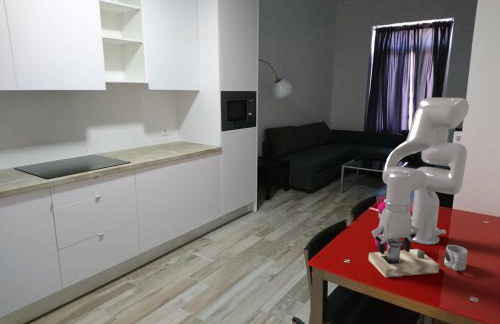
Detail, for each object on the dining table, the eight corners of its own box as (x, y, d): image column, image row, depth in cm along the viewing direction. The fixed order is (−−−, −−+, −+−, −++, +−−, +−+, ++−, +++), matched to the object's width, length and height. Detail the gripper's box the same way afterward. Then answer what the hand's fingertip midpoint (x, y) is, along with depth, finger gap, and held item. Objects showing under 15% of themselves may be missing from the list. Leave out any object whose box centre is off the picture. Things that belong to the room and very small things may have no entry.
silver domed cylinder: (395, 261, 122) (397, 237, 120) (403, 269, 117) (406, 243, 115) (381, 262, 121) (383, 237, 119) (389, 270, 116) (391, 244, 114)
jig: (417, 256, 127) (418, 244, 126) (438, 272, 115) (440, 259, 114) (368, 260, 124) (369, 247, 123) (385, 277, 112) (386, 264, 111)
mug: (444, 259, 124) (446, 243, 122) (465, 264, 121) (467, 247, 119) (444, 272, 115) (446, 254, 114) (466, 277, 112) (469, 259, 111)
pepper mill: (390, 250, 131) (394, 203, 127) (372, 246, 135) (375, 200, 131) (393, 243, 137) (397, 198, 133) (375, 239, 141) (378, 195, 137)
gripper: (413, 201, 119) (409, 244, 123) (368, 204, 117) (366, 248, 120) (427, 209, 112) (422, 254, 115) (379, 212, 110) (376, 258, 113)
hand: (393, 251), depth 118 cm, fingers open, 9 cm apart
